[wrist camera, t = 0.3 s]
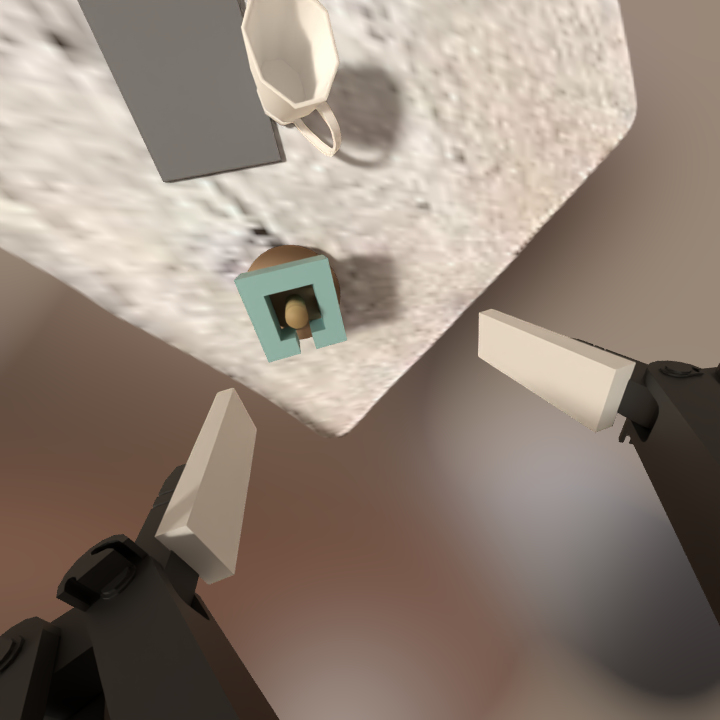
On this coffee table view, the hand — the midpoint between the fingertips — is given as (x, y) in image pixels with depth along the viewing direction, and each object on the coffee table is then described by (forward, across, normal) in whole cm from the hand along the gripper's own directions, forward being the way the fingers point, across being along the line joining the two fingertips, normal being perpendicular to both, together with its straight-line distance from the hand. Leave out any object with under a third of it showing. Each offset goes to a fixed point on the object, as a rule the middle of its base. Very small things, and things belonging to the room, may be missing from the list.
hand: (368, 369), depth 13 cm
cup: (+24, +2, +17) cm, 30 cm away
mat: (+24, -6, +20) cm, 32 cm away
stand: (+24, -4, 0) cm, 25 cm away
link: (+20, -4, 0) cm, 20 cm away
